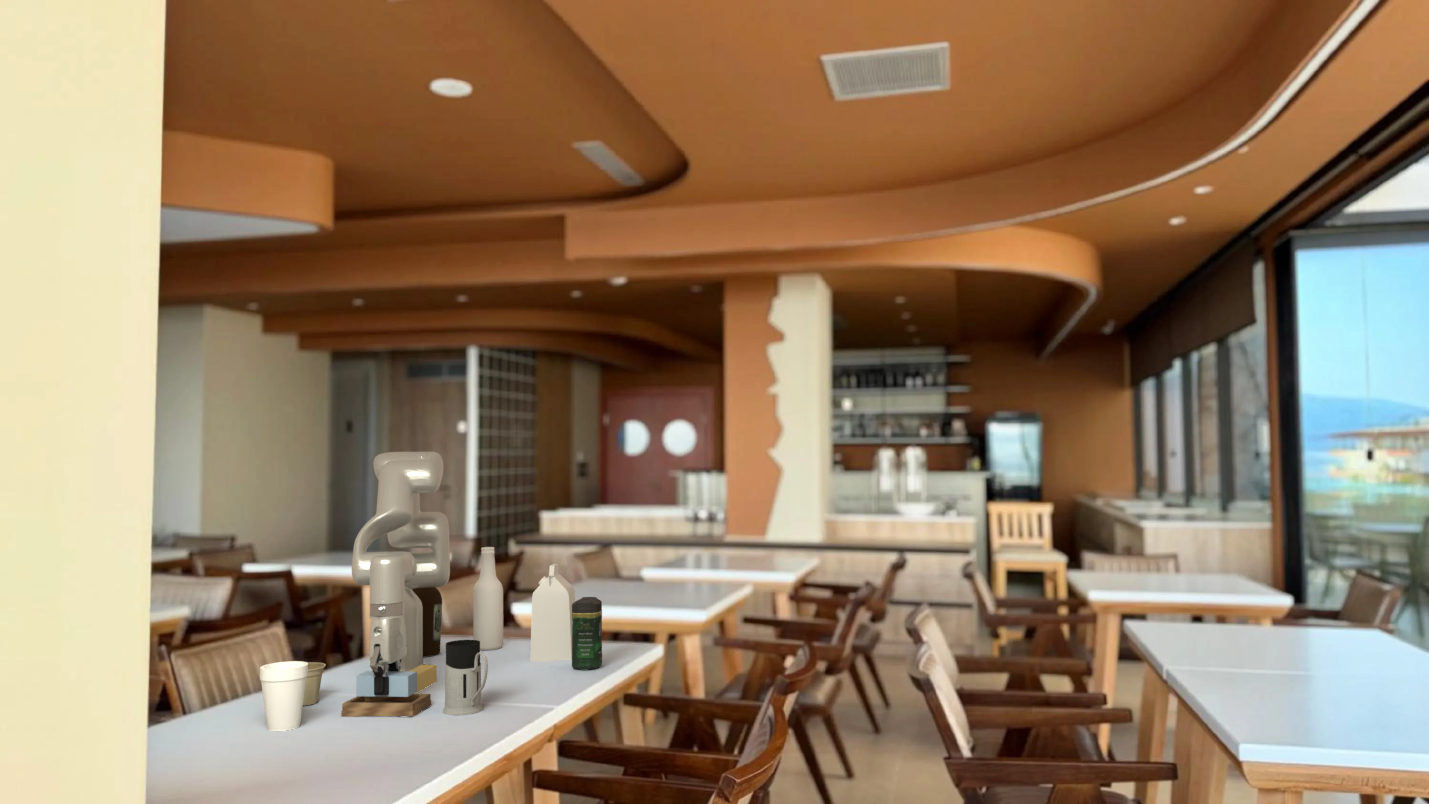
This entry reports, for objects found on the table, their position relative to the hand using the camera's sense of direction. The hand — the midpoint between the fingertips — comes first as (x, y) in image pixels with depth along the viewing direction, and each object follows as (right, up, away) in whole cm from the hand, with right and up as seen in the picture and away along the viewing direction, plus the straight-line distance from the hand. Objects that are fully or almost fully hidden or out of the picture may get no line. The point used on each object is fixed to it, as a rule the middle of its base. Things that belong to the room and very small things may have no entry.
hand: (387, 691), depth 226 cm
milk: (+28, -8, +60) cm, 67 cm away
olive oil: (-11, -9, +67) cm, 69 cm away
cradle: (0, -4, 0) cm, 4 cm away
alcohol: (+6, -9, +75) cm, 76 cm away
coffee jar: (+39, -7, +44) cm, 60 cm away
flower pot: (-22, -6, +8) cm, 24 cm away
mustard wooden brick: (0, -6, +24) cm, 24 cm away
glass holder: (+19, -4, -3) cm, 20 cm away
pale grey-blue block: (0, -1, 0) cm, 1 cm away
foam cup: (-18, -4, -13) cm, 22 cm away
